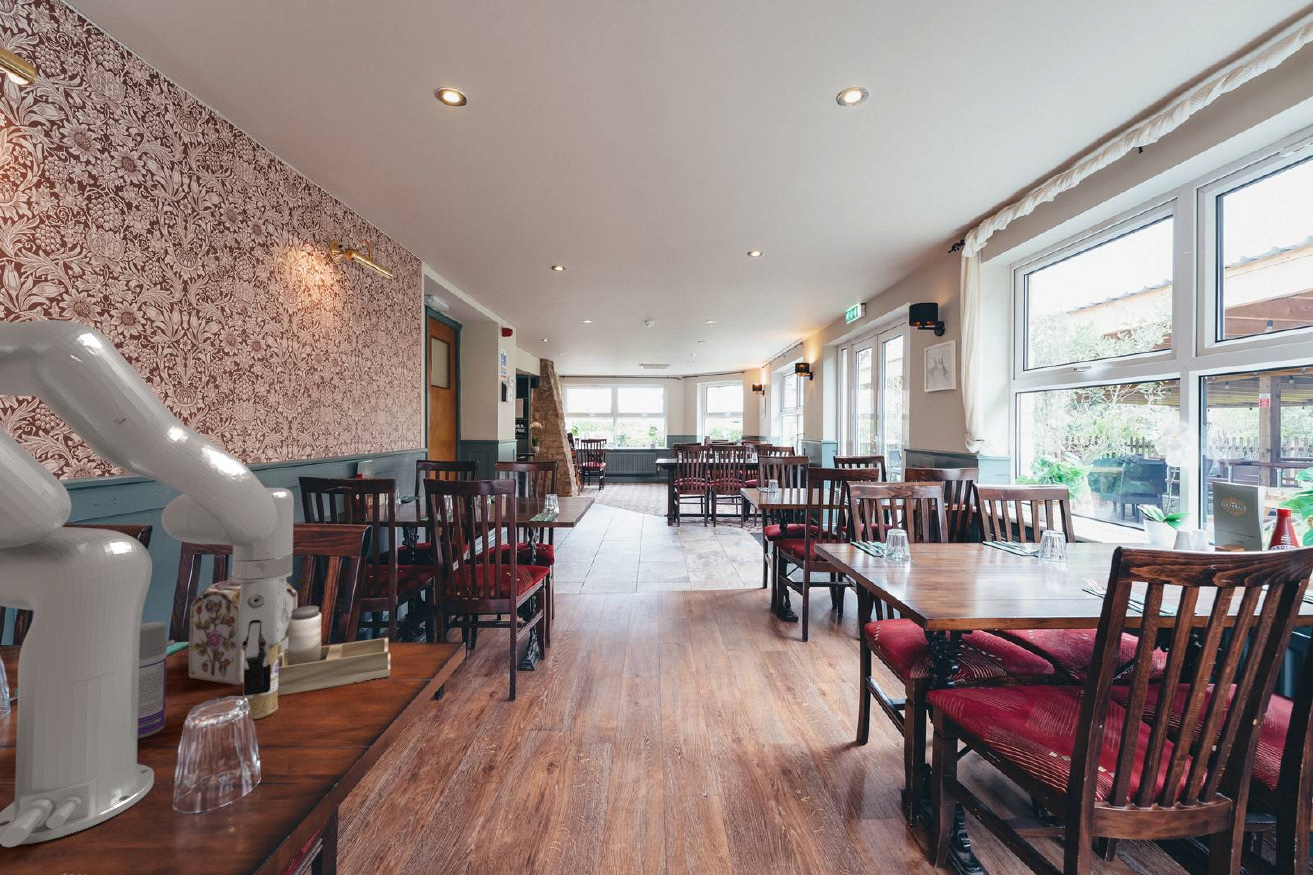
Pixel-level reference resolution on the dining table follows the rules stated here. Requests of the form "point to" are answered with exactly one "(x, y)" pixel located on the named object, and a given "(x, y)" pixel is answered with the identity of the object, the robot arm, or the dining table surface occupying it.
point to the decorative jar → (222, 633)
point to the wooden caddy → (326, 657)
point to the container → (152, 678)
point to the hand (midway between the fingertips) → (260, 685)
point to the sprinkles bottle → (268, 701)
